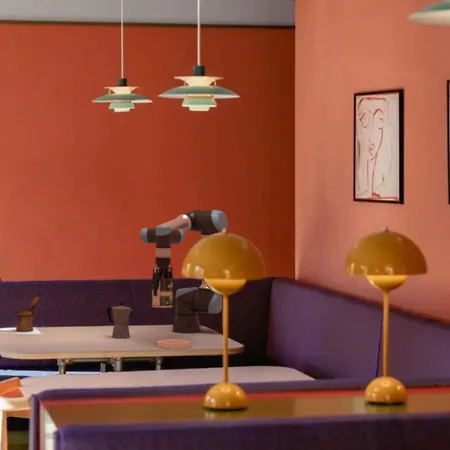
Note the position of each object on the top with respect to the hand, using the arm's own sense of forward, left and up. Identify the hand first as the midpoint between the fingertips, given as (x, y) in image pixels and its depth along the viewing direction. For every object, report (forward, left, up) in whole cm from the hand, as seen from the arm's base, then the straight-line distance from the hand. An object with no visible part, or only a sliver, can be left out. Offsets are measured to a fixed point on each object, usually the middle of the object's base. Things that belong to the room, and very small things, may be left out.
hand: (162, 302), depth 590 cm
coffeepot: (-7, -30, -21) cm, 37 cm away
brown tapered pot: (-3, -85, -21) cm, 87 cm away
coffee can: (0, 0, -3) cm, 3 cm away
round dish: (+5, +10, -20) cm, 23 cm away
